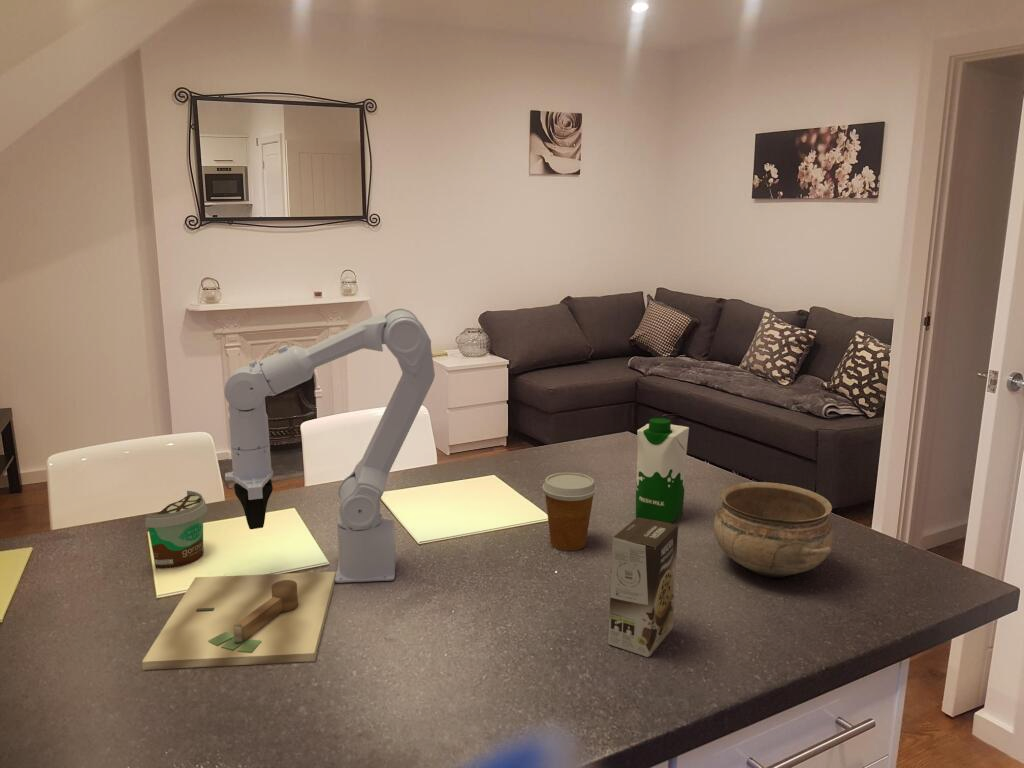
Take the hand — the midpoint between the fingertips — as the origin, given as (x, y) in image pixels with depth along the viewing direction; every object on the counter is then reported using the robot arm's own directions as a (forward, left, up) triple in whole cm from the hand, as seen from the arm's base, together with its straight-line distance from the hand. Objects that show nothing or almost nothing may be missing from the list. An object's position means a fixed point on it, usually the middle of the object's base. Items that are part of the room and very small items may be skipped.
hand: (256, 527), depth 125 cm
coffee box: (-57, +22, -10) cm, 62 cm away
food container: (+14, -10, -10) cm, 20 cm away
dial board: (-1, +12, -9) cm, 15 cm away
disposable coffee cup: (-52, -10, -10) cm, 54 cm away
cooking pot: (-84, +3, -10) cm, 85 cm away
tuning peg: (-4, +15, -8) cm, 18 cm away
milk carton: (-72, -21, -10) cm, 76 cm away
